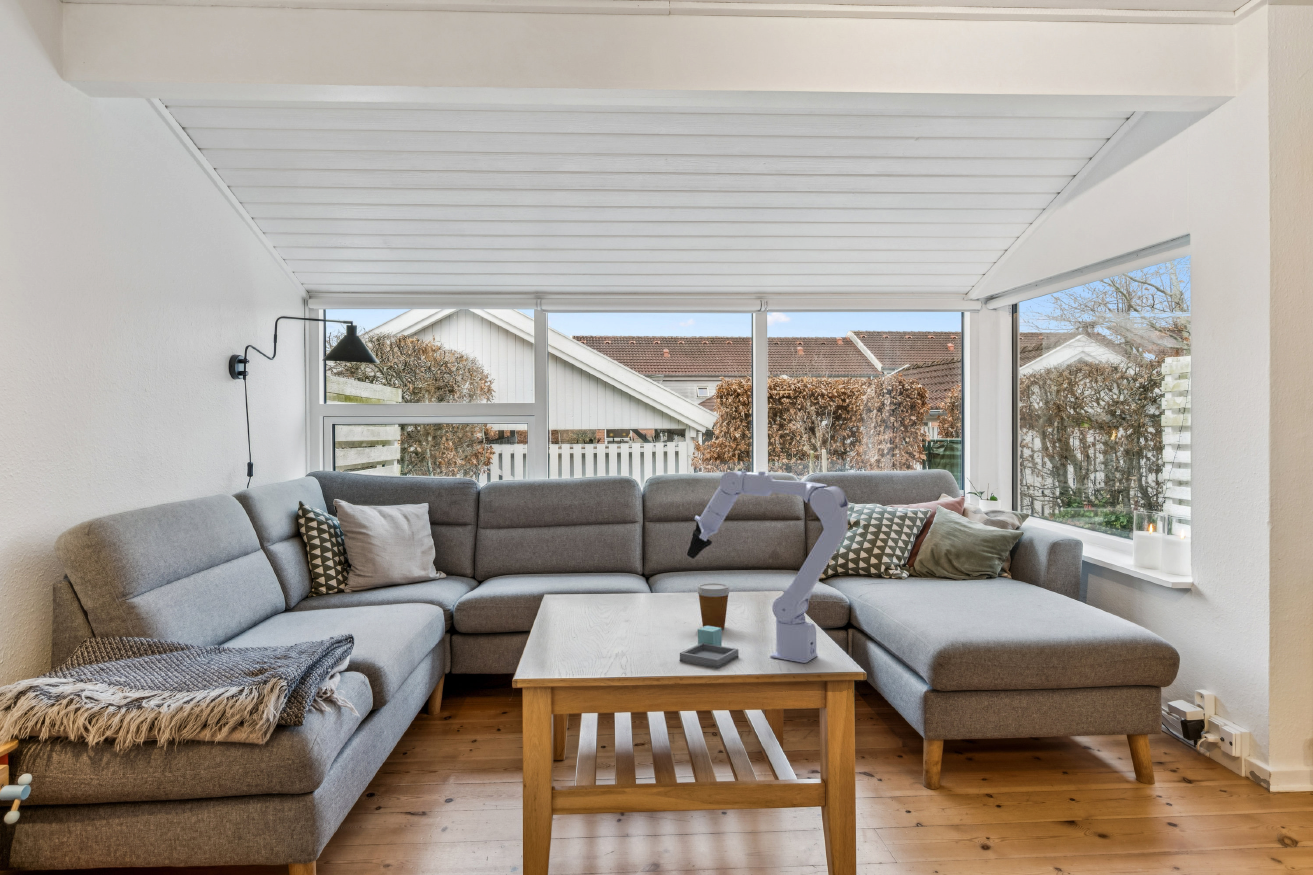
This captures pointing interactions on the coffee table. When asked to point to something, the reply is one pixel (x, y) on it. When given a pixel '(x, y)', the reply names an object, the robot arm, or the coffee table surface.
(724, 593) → the disposable coffee cup
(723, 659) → the tray
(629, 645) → the coffee table surface
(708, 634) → the teal block
